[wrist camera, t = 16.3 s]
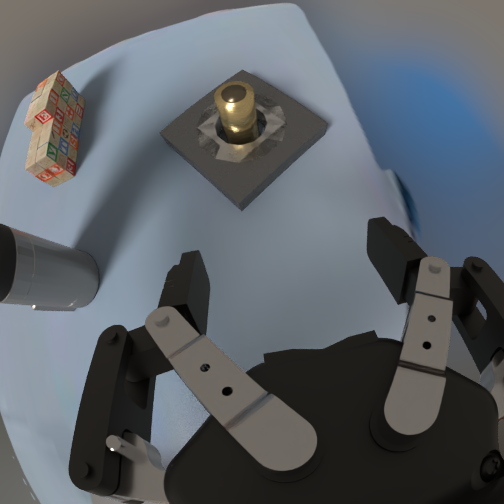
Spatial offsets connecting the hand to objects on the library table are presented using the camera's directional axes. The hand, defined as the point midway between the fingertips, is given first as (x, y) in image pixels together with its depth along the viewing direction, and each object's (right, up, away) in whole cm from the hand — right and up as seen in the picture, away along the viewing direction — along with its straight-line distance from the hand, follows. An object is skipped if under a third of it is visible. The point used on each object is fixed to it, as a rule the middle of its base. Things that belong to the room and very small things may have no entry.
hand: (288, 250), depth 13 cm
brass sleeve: (-3, +18, +28) cm, 33 cm away
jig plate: (-3, +18, +28) cm, 33 cm away
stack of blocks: (-40, +23, +32) cm, 56 cm away
